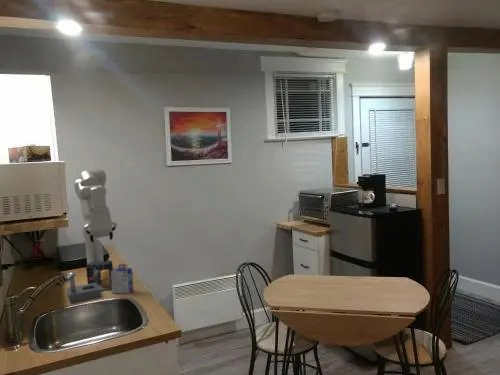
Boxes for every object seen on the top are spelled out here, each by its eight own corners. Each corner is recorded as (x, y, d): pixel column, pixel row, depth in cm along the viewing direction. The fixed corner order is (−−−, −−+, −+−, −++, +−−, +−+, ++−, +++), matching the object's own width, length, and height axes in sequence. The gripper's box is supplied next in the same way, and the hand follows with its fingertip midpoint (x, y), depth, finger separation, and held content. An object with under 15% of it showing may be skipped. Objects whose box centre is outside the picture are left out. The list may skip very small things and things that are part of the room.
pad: (96, 287, 246) (96, 286, 246) (113, 284, 250) (113, 283, 250) (99, 291, 238) (99, 290, 238) (116, 288, 242) (116, 287, 242)
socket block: (67, 295, 235) (65, 274, 234) (96, 289, 242) (94, 269, 241) (70, 303, 223) (67, 280, 222) (101, 296, 229) (99, 275, 228)
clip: (68, 275, 230) (67, 270, 230) (76, 274, 231) (76, 269, 231) (61, 283, 216) (61, 279, 215) (70, 282, 216) (69, 278, 216)
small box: (87, 285, 250) (85, 265, 249) (91, 282, 257) (89, 261, 256) (110, 284, 250) (108, 263, 249) (114, 280, 257) (112, 260, 256)
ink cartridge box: (134, 290, 237) (132, 263, 236) (129, 293, 232) (127, 266, 231) (117, 290, 239) (115, 263, 238) (112, 293, 234) (109, 266, 233)
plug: (102, 288, 241) (100, 272, 240) (100, 286, 245) (99, 270, 244) (111, 287, 243) (110, 271, 242) (110, 284, 248) (108, 268, 247)
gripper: (83, 212, 233) (86, 244, 235) (116, 208, 241) (119, 239, 243) (81, 210, 239) (84, 241, 241) (114, 207, 247) (116, 237, 249)
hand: (101, 240), depth 242 cm, fingers open, 9 cm apart
